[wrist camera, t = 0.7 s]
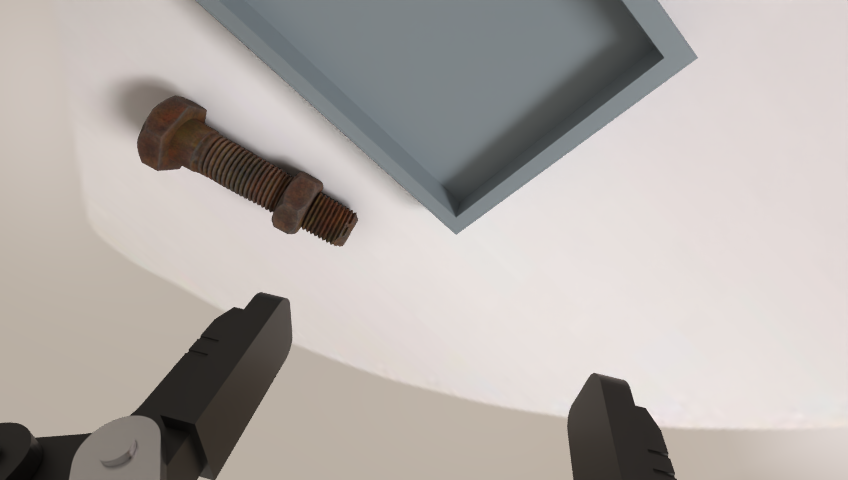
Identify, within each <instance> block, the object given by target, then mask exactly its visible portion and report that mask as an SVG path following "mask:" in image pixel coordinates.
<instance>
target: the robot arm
mask: <svg viewBox="0 0 848 480" xmlns="http://www.w3.org/2000/svg"><path fill="white" fill-rule="evenodd" d="M291 343H292V325H291V312H290V302H289V300H288V299H287V298H283V297H279V296H275V295H270V294H266V293H262V292H260V293H258V294H256V295H255V296H254V297H253V299H252V300H251V301H250V302H249V304H248V305H247V306H246V307H245V309H240V308H236V307H234V308H232V309H230V310H229V311H227V312H226V313H224V314H222V315H221V316H219V317H218V318H216V319H215V320H214V321H213V322H212V323H211V324H210V325H209V327H208V328H207V329H206V330H205V331H204V332H203V334H202V335H201V338H200V339H197V341H196V342H195V343H194V344H193V345H192V347H191V348H190V349H189V352H188V353H185V355H184V356H183V357H182V358H181V359H180V361H179V362H178V363H177V364H176V365H175V366H174V367H173V369H172V370H171V371H170V372H169V373H168V374H167V376H166V377H165V378H164V379H163V380H162V381H161V383H160V384H159V385H158V386H157V387H156V388H155V390H154V391H153V392H152V393H151V394H150V396H149V397H148V398H147V399H146V400H145V401H144V402H143V404H142V405H141V406H140V407H139V408H138V409H137V410H136V411H135V412H133V413H132V414H131V415H130V416H127V417H122V418H119V419H116V420H113V421H112V422H109V423H107V424H105V425H104V426H102V427H100V428H99V429H97V430H96V431H95V432H93V433H88V434H80V435H65V436H52V437H40V438H35V437H34V436H33V435H32V434H31V433H30V431H29V430H28V429H27V428H26V427H25V426H23V425H21V424H18V423H0V480H197V479H198V477H199V476H200V477H204V478H207V479H211V480H215V479H216V478H217V476H218V474H219V472H220V471H221V469H222V467H223V466H224V464H225V462H226V460H227V459H228V457H229V455H230V454H231V452H232V450H233V449H234V447H235V445H236V443H237V442H238V440H239V438H240V437H241V435H242V433H243V431H244V430H245V428H246V426H247V425H248V423H249V421H250V419H251V418H252V416H253V414H254V413H255V411H256V409H257V407H258V406H259V404H260V402H261V401H262V399H263V397H264V395H265V394H266V392H267V390H268V389H269V387H270V385H271V383H272V382H273V380H274V378H275V377H276V375H277V373H278V371H279V370H280V368H281V367H282V365H283V363H284V361H285V360H286V358H287V355H288V353H289V351H290V347H291ZM567 427H568V438H569V446H570V455H571V463H572V471H573V479H574V480H677V479H675V477H674V475H675V472H674V469H673V466H672V463H671V460H670V459H669V458H668V452H667V448H666V445H665V442H664V439H663V436H662V432H661V430H660V428H659V427H658V426H657V424H656V423H655V421H654V420H653V418H652V417H651V415H650V414H649V412H648V411H647V410H646V408H643V407H639V406H635V404H634V400H633V397H632V393H631V390H630V387H629V385H628V383H627V382H626V381H625V380H621V379H617V378H613V377H609V376H605V375H601V374H596V373H593V374H591V375H590V377H589V378H588V380H587V381H586V383H585V385H584V386H583V388H582V390H581V391H580V393H579V394H578V396H577V398H576V399H575V401H574V403H573V404H572V406H571V408H570V411H569V415H568V425H567Z"/></svg>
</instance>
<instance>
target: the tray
mask: <svg viewBox="0 0 848 480" xmlns="http://www.w3.org/2000/svg"><path fill="white" fill-rule="evenodd" d="M196 1H197V2H198V3H199V4H200V5H201V6H202V7H203V8H204V9H206V10H207V11H208V12H209V13H210V14H211V15H212V16H213V17H214V18H216V19H217V20H218V21H219V22H220V23H221V24H222V25H223V26H224V27H226V28H227V29H228V30H229V31H230V32H231V33H232V34H233V35H234V36H236V37H237V38H238V39H239V40H240V41H241V42H242V43H243V44H244V45H246V46H247V47H248V48H249V49H250V50H251V51H252V52H253V53H254V54H256V55H257V56H258V57H259V58H260V59H261V60H262V61H263V62H264V63H266V64H267V65H268V66H269V67H270V68H271V69H272V70H273V71H274V72H276V73H277V74H278V75H279V76H280V77H281V78H282V79H283V80H284V81H286V82H287V83H288V84H289V85H290V86H291V87H292V88H293V89H295V90H296V91H297V92H298V93H299V94H300V95H301V96H302V97H303V98H305V99H306V100H307V101H308V102H309V103H310V104H311V105H312V106H313V107H315V108H316V109H317V110H318V111H319V112H320V113H321V114H322V115H323V116H325V117H326V118H327V119H328V120H329V121H330V122H331V123H332V124H333V125H335V126H336V127H337V128H338V129H339V130H340V131H341V132H342V133H343V134H345V135H346V136H347V137H348V138H349V139H350V140H351V141H352V142H353V143H355V144H356V145H357V146H358V147H359V148H360V149H361V150H362V151H363V152H365V153H366V154H367V155H368V156H369V157H370V158H371V159H372V160H373V161H375V162H376V163H377V164H378V165H379V166H380V167H381V168H382V169H383V170H385V171H386V172H387V173H388V174H389V175H390V176H391V177H392V178H393V179H395V180H396V181H397V182H398V183H399V184H400V185H401V186H402V187H403V188H405V189H406V190H407V191H408V192H409V193H410V194H411V195H412V196H413V197H415V198H416V199H417V200H418V201H419V202H420V203H421V204H422V205H424V206H425V207H426V208H427V209H428V210H429V211H430V212H431V213H432V214H434V215H435V216H436V217H437V218H438V219H439V220H440V221H441V222H442V223H444V224H445V225H446V226H447V227H448V228H449V229H450V230H451V231H452V232H454V233H455V234H458V233H459V232H461V231H462V230H463V229H465V228H466V227H467V226H469V225H470V224H471V223H473V222H474V221H476V220H477V219H478V218H480V217H481V216H482V215H484V214H485V213H487V212H488V211H489V210H491V209H492V208H493V207H495V206H496V205H497V204H499V203H500V202H502V201H503V200H504V199H506V198H507V197H508V196H510V195H511V194H512V193H514V192H515V191H517V190H518V189H519V188H521V187H522V186H523V185H525V184H526V183H528V182H529V181H530V180H532V179H533V178H534V177H536V176H537V175H538V174H540V173H541V172H543V171H544V170H545V169H547V168H548V167H549V166H551V165H552V164H553V163H555V162H556V161H558V160H559V159H560V158H562V157H563V156H564V155H566V154H567V153H568V152H570V151H571V150H573V149H574V148H575V147H577V146H578V145H579V144H581V143H582V142H584V141H585V140H586V139H588V138H589V137H590V136H592V135H593V134H594V133H596V132H597V131H599V130H600V129H601V128H603V127H604V126H605V125H607V124H608V123H609V122H611V121H612V120H614V119H615V118H616V117H618V116H619V115H620V114H622V113H623V112H625V111H626V110H627V109H629V108H630V107H631V106H633V105H634V104H635V103H637V102H638V101H640V100H641V99H642V98H644V97H645V96H646V95H648V94H649V93H650V92H652V91H653V90H655V89H656V88H657V87H659V86H660V85H661V84H663V83H664V82H665V81H667V80H668V79H670V78H671V77H672V76H674V75H675V74H676V73H678V72H679V71H681V70H682V69H683V68H685V67H686V66H687V65H689V64H690V63H691V62H693V61H694V60H696V59H697V58H698V57H697V56H696V54H695V53H694V51H693V50H692V48H691V47H690V46H689V44H688V43H687V41H686V40H685V39H684V37H683V36H682V34H681V33H680V31H679V30H678V29H677V27H676V26H675V24H674V23H673V22H672V20H671V19H670V17H669V16H668V14H667V13H666V12H665V10H664V9H663V7H662V6H661V4H660V3H659V2H658V0H196Z"/></svg>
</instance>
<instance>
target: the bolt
mask: <svg viewBox="0 0 848 480" xmlns="http://www.w3.org/2000/svg"><path fill="white" fill-rule="evenodd" d="M206 112H207V110H206V109H204V108H203V107H201V106H199V105H197V104H196V103H194V102H192V101H190V100H188V99H185V98H183V97H179V96H173V97H171V98H169V99H167V100H165V101H163V102H161V103H160V104H158V105H157V106H156V107H155V108H154V109H153V110H152V111H151V113H150V114H149V116H148V118H147V120H146V121H145V123H144V125H143V127H142V130H141V132H140V134H139V137H138V141H137V148H138V153H139V156H140V159H141V161H142V163H144V164H146V165H148V166H149V167H151V168H153V169H155V170H157V171H161V170H174V169H180V168H181V166H184V167H186V168H188V169H189V170H191V171H193V172H198V173H200V174H202V175H204V176H206V177H209V178H210V179H212V180H214V181H215V182H217V183H218V184H220V185H222V186H223V187H226V188H227V189H230V190H231V191H232V192H235V193H236V194H239V195H240V196H243V197H244V198H246V199H247V198H248V200H249V201H253V203H256V202H257V205H261V207H265V209H266V210H268V209H269V211H270V212H273V216H272V222H273V226H274V227H275V228H277V229H279V230H281V231H283V232H285V233H287V234H295V233H297V232H298V230H299V229H300V228H301V227H302V229H303V230H304V229H306V231H307V232H308V231H310V234H312V233H314V236H317V235H318V238H321V237H322V240H325V239H326V242H329V241H330V244H334V246H337V245H338V246H339V247H340V246H343V245H344V243H345V242H346V240H347V239H348V237H349V235H350V233H351V231H352V229H353V228H354V226H355V225H356V223H357V221H358V218H357V215H356V213H353V210H351V211H349V208H347V209H346V206H343V207H342V204H338V201H337V202H334V199H333V200H330V197H328V198H326V195H322V192H321V191H322V189H323V183H322V182H321V181H319V180H317V179H316V178H314V177H312V176H311V175H309V174H307V173H303V172H300V173H298V174H297V175H296V176H295V177H294V176H293V177H291V176H290V174H288V175H287V174H286V172H282V169H280V170H278V167H275V168H274V165H270V163H269V162H267V163H266V161H265V160H262V158H261V157H258V156H257V155H254V154H253V153H252V152H250V153H249V151H248V150H245V148H242V147H241V146H240V145H236V143H234V142H232V141H231V140H228V139H227V138H225V137H223V136H222V135H220V134H219V133H218V132H217V131H216V130H214V129H212V128H211V127H209V126H207V125H205V124H204V123H205V117H206Z"/></svg>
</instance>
